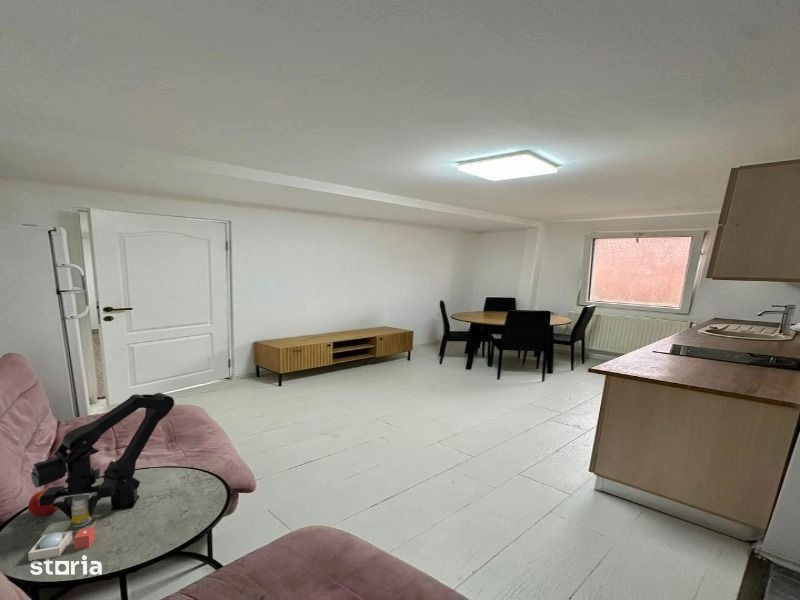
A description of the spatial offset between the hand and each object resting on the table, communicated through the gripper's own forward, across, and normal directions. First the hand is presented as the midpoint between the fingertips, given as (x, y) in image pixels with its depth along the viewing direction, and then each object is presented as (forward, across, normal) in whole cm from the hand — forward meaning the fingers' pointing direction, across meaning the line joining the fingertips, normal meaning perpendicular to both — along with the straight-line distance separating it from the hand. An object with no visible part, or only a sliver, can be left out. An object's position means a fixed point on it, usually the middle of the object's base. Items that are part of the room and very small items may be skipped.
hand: (81, 516), depth 118 cm
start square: (+3, 0, 0) cm, 3 cm away
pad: (+3, +6, 0) cm, 7 cm away
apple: (+3, +14, -9) cm, 16 cm away
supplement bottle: (+2, 0, 0) cm, 2 cm away
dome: (+2, +3, +10) cm, 10 cm away
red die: (+3, -4, +10) cm, 11 cm away
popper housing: (+3, +4, +10) cm, 10 cm away
